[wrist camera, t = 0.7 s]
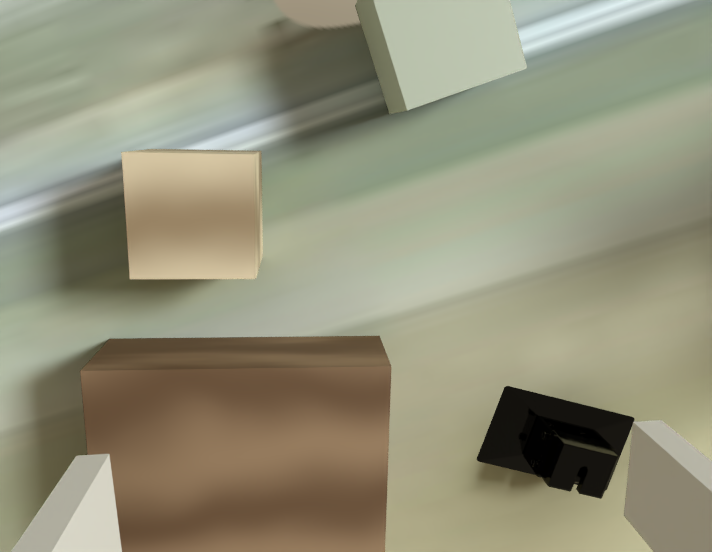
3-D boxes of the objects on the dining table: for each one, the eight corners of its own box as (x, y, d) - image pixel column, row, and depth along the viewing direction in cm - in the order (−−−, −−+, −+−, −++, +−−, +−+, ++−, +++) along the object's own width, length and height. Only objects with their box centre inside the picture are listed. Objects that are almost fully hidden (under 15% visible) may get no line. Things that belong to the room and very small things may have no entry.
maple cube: (152, 148, 34) (121, 152, 28) (261, 150, 34) (253, 154, 29) (157, 255, 35) (129, 279, 29) (262, 255, 36) (255, 279, 30)
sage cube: (355, 5, 33) (366, -22, 27) (459, -31, 33) (493, -66, 27) (389, 114, 35) (407, 110, 29) (488, 79, 35) (527, 68, 29)
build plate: (449, 461, 40) (467, 501, 36) (485, 361, 39) (509, 390, 35) (616, 500, 42) (653, 543, 38) (656, 406, 41) (699, 439, 36)
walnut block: (109, 338, 36) (79, 371, 31) (379, 336, 37) (391, 366, 33) (127, 573, 40) (103, 634, 35) (372, 562, 41) (382, 619, 36)
